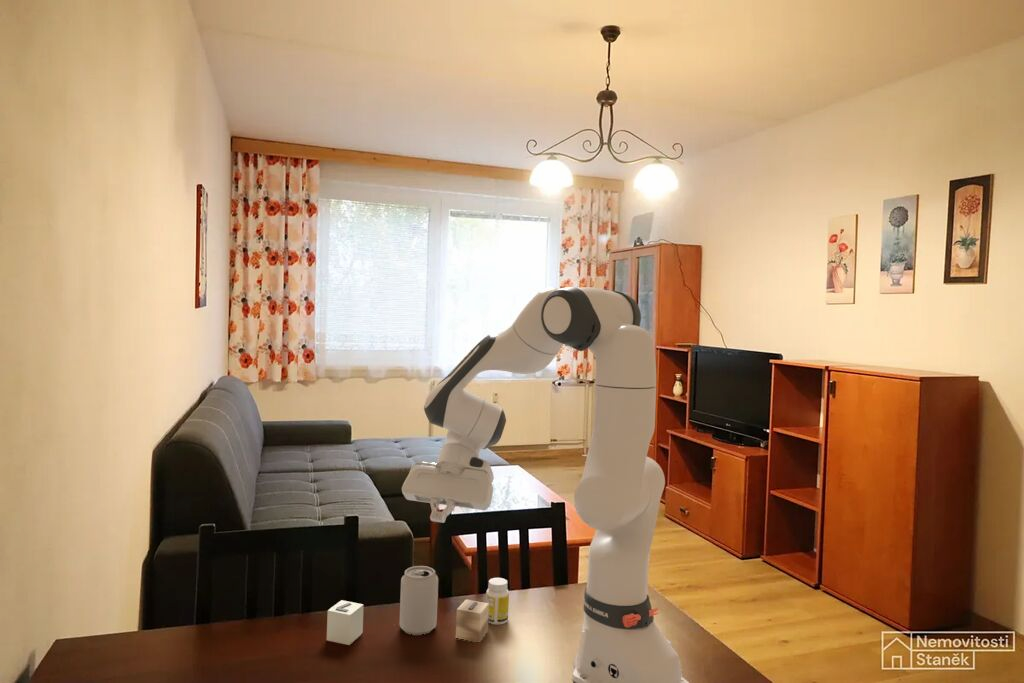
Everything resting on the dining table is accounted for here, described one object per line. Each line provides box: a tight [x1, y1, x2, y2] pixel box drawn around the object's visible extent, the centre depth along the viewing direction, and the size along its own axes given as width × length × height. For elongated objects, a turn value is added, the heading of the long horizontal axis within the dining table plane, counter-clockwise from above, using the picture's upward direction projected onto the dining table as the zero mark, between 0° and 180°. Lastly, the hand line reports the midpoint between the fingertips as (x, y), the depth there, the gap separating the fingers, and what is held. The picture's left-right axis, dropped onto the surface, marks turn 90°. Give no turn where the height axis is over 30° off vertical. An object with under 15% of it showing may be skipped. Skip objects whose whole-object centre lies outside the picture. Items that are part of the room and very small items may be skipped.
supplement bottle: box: [485, 577, 510, 626], centre depth 143 cm, size 5×5×8 cm
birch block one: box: [455, 598, 489, 643], centre depth 136 cm, size 5×5×6 cm
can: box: [399, 565, 439, 636], centre depth 138 cm, size 8×8×12 cm
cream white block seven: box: [326, 599, 365, 646], centre depth 133 cm, size 5×5×6 cm
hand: (436, 520), depth 145 cm, fingers closed
